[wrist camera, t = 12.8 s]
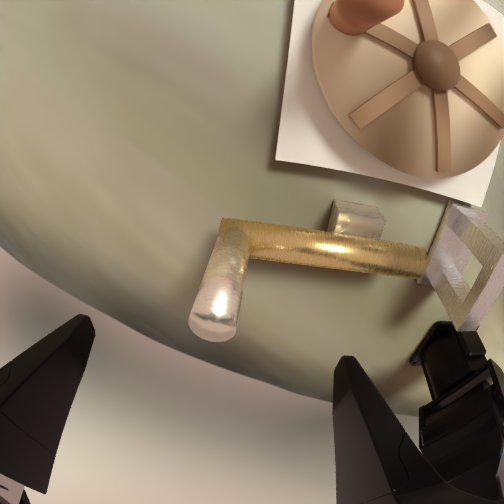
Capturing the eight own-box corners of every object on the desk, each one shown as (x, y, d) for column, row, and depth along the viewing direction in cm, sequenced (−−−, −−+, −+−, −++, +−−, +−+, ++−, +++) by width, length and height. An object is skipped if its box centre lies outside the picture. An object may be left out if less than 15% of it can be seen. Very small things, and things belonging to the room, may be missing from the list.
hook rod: (407, 266, 17) (450, 355, 11) (221, 241, 17) (189, 339, 11) (417, 240, 16) (472, 327, 9) (223, 211, 16) (186, 303, 10)
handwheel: (515, 50, 8) (572, 57, 3) (459, 204, 15) (507, 250, 10) (346, -64, 7) (371, -111, 2) (277, 116, 14) (276, 132, 9)
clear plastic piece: (451, 284, 20) (480, 334, 15) (316, 267, 20) (326, 331, 15) (484, 211, 16) (528, 254, 11) (339, 174, 16) (366, 217, 11)
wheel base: (474, 201, 16) (481, 207, 15) (275, 155, 16) (275, 159, 15) (503, 22, 8) (511, 21, 7) (300, -61, 8) (302, -68, 7)
